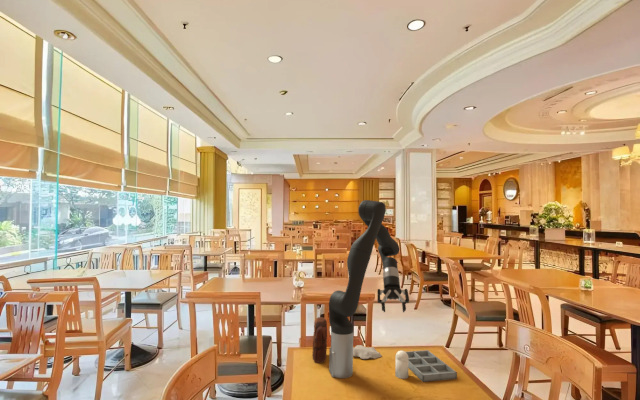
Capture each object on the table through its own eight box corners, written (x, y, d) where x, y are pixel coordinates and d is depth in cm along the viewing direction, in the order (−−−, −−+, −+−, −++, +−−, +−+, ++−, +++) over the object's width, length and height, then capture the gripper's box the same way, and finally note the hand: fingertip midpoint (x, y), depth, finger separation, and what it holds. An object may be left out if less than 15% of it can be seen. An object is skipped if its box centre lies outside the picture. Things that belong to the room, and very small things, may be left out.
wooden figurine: (312, 352, 159) (312, 314, 159) (325, 352, 159) (326, 314, 160) (312, 363, 147) (313, 322, 148) (327, 363, 147) (328, 322, 148)
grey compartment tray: (422, 381, 132) (422, 375, 133) (398, 357, 154) (398, 352, 155) (456, 378, 135) (456, 372, 136) (428, 355, 157) (428, 350, 158)
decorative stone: (350, 360, 152) (383, 364, 152) (351, 352, 151) (384, 356, 151) (348, 347, 163) (379, 351, 163) (349, 340, 162) (380, 343, 162)
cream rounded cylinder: (398, 379, 134) (398, 353, 135) (393, 373, 139) (393, 348, 140) (410, 378, 135) (410, 353, 136) (404, 372, 140) (405, 348, 141)
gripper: (376, 275, 159) (378, 308, 149) (406, 274, 157) (410, 308, 147) (376, 282, 165) (378, 314, 155) (405, 281, 163) (409, 314, 153)
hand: (394, 311), depth 151 cm, fingers open, 8 cm apart
